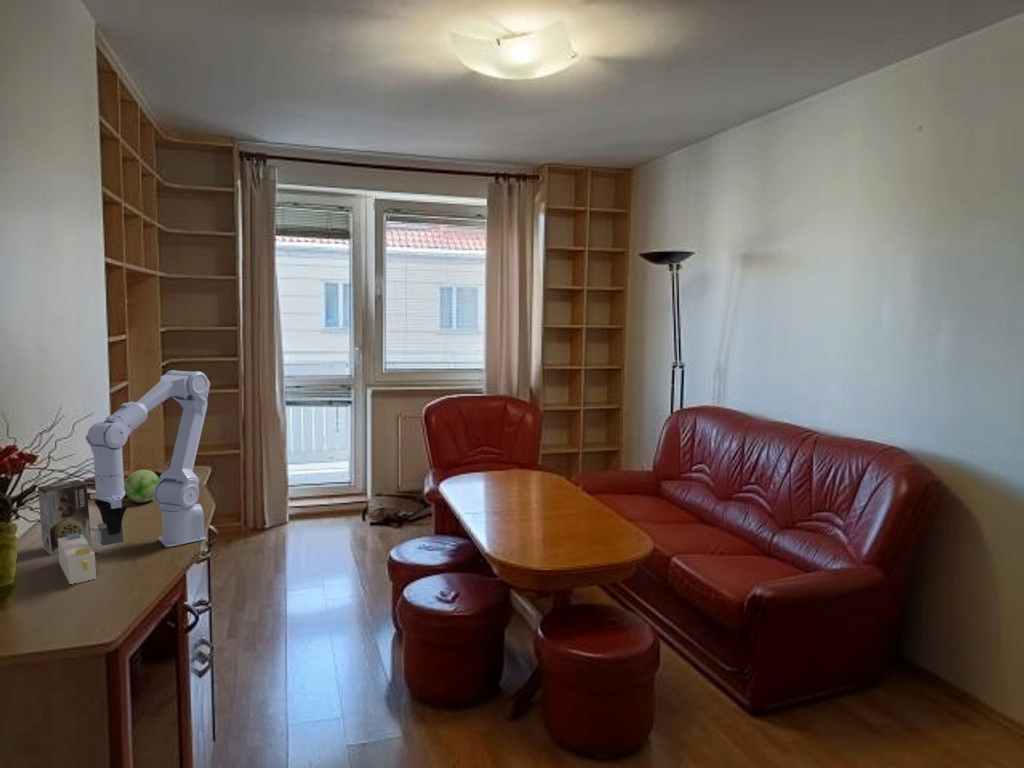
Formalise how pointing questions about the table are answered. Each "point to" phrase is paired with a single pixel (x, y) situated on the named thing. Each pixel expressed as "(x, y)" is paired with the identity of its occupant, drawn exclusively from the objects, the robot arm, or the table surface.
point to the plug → (107, 535)
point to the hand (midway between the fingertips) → (112, 531)
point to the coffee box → (63, 512)
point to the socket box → (76, 558)
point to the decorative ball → (141, 485)
